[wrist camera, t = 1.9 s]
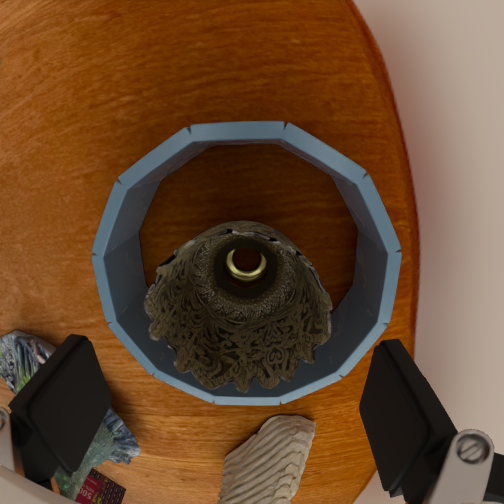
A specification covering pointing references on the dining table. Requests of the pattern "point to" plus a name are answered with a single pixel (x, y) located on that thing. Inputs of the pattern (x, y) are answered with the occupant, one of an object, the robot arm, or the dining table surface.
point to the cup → (239, 307)
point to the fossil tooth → (268, 463)
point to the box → (99, 490)
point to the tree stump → (109, 433)
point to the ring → (342, 319)
